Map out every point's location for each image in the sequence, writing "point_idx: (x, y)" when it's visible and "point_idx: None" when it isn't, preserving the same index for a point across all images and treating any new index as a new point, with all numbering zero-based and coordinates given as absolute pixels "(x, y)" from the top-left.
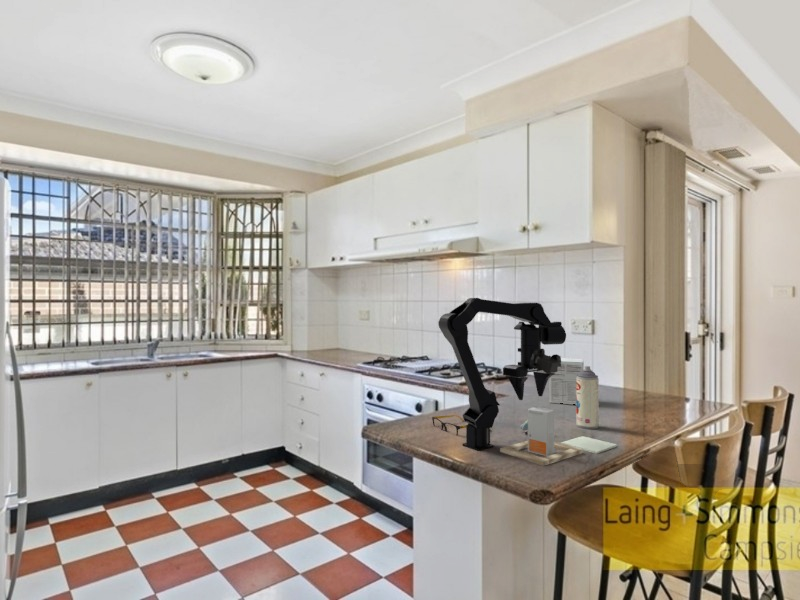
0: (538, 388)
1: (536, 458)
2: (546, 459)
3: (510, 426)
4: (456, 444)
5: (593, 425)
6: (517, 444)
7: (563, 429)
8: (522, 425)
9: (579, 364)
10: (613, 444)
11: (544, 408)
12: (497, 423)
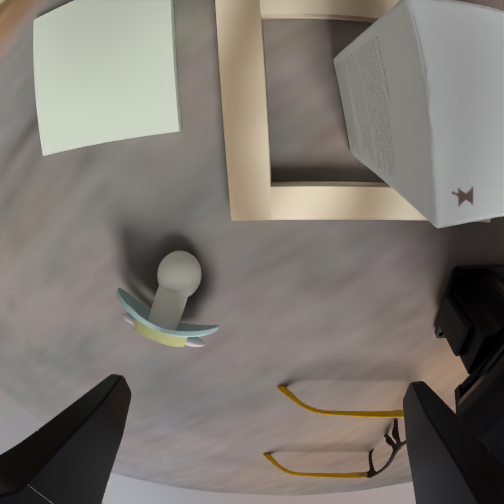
0: (108, 446)
1: None
2: None
3: (177, 382)
4: None
5: None
6: (410, 209)
7: (41, 263)
8: (199, 340)
9: None
10: (41, 24)
11: (443, 105)
12: (191, 413)
